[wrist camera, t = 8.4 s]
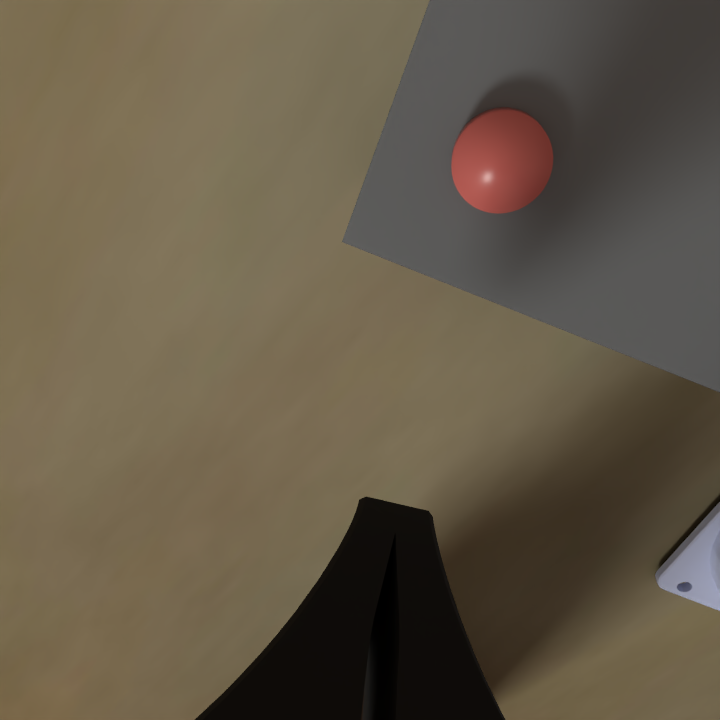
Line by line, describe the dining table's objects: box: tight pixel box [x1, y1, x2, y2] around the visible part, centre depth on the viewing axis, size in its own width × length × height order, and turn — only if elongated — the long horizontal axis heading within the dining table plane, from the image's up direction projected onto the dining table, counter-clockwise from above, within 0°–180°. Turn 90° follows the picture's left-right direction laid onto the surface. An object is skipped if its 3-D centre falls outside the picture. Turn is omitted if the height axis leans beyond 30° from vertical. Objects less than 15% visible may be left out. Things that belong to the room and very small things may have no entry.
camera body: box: [342, 0, 720, 392], centre depth 14 cm, size 13×9×5 cm
